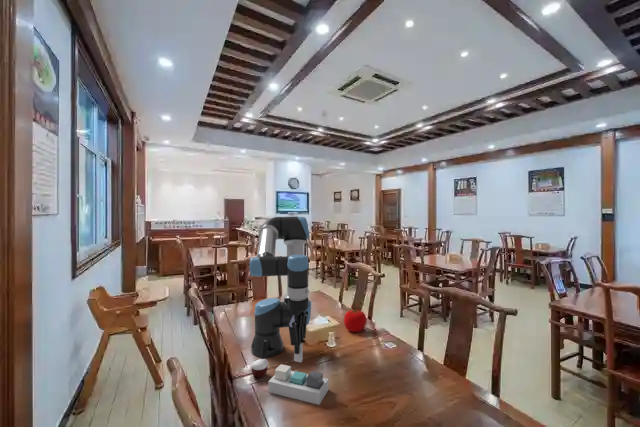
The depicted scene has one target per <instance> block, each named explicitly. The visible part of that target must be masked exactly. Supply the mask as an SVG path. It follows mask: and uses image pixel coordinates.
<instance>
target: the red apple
mask: <svg viewBox="0 0 640 427" xmlns="http://www.w3.org/2000/svg"><path fill="white" fill-rule="evenodd" d="M343 324H344V326H345V328H346V329H347V330H348V331H349V332H352V333H359V332H362V331H363V330H364V328H365V327H366V325H367V316H366V313H365V312H364V311H362V310H357V309H352V310H348V311H347V312H346V313H345V315H344V318H343Z"/></svg>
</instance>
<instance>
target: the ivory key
mask: <svg viewBox="0 0 640 427" xmlns="http://www.w3.org/2000/svg"><path fill="white" fill-rule="evenodd" d="M291 371H292V366H290V365H286V364H280V365H278V366H277V367H276V369H274V375H275V379H276V380H280V381H284V382H286V381H287V380H288V379H289V378H290V377H291Z"/></svg>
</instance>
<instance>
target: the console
mask: <svg viewBox="0 0 640 427" xmlns="http://www.w3.org/2000/svg"><path fill="white" fill-rule="evenodd" d="M295 372H296V371H295V370H291V376H292V375H293V374H294V373H295ZM308 375H309V374H308V373H307V376H308ZM329 382H330V380H329V378H326V377H323V385H322V386H321V388H320V389H319V390H318V389H314V388H310V387H307V380H306V382H305V383H304V384H303V385H302V386H301V385H297V384H293V383H291V377H290V378H289V379H288V380H287V381H286V382H284V381H280V380H276V379H275V374H274V375H272V377H271V378H270V379H269V380H268V386H267V387H268V393H270V394H275V395H279V396H282V397H287V398H290V399H293V400H297V399H298V401H302V402H305V403H308V404H309V403H310V404H314V405H318V406H320V405H321V403H322V402H323V400H324V398H325V397H326V394H327V393H328V391H329V386H330V385H329V384H330V383H329Z"/></svg>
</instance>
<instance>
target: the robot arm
mask: <svg viewBox="0 0 640 427" xmlns="http://www.w3.org/2000/svg"><path fill="white" fill-rule="evenodd" d="M258 238H259V241H258V245H257V246H258V248H257V253H256V256H253V257H251V258H249V274H250V277H251V276H252V277H260V278H261V277H286V295H285V296H284V298H283V301H280V299H279V298H277V297H276V298H275V297H271V298H266V299H262V300H259V301H258V302H257V303H256V304H255V306H254V314H253V315H254V335H253V339H252V342H251V347H250V351H251V354H252V355H254V356H256V357H260V358H261V355H262V349H263V342H264V340H265V341H267V347H266V354H265V358H269V357H273V356H277V355H279V354H280V353H282V352H283V351H284V341H283V338H282V335H281V332H280V329H282V328H288V331H289V339H290V346H291V345H292V346H293V349H294V350H293V353H294V355H293V357H294V362H297V363H302V362H303V359H304V357H303V356H304V355H303V352H304V350H303V347H304V346H303V343H306V340H305V339H306V334H307V326H308V325H309V324H310V320H311V310H312V301H311V300H309V292H310V290H309V265H310V264H309V257H308V256H307V255H306V254H304V253H305V251H304V250H305V248H304V246H305V245H306V243H307V240H308V239H309V238H310V230H309V224H308V220H307V218H306V217H305V216H298V215H297V216H274V217H272V218H269V219H267V220H266V221H265V222H263V224H261V225H260V227H259V230H258ZM277 240H283V244H284V245H285V246H286V256H276V246H277V244H276V243H277Z"/></svg>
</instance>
